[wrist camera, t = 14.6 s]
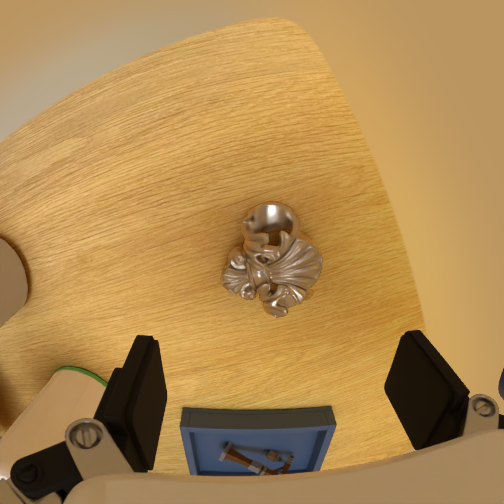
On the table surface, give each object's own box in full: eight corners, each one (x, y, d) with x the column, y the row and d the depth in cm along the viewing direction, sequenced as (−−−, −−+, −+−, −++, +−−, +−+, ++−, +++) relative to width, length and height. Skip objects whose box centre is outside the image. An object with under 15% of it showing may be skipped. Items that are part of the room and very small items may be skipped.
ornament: (204, 217, 21) (198, 231, 18) (302, 191, 21) (314, 201, 17) (236, 316, 24) (236, 343, 20) (323, 293, 24) (336, 318, 20)
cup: (52, 415, 28) (7, 508, 14) (26, 336, 24) (-54, 439, 10) (145, 442, 29) (120, 554, 15) (137, 365, 25) (84, 513, 11)
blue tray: (331, 406, 28) (336, 424, 25) (311, 467, 32) (314, 483, 30) (183, 407, 27) (179, 426, 25) (194, 469, 31) (193, 485, 29)
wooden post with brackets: (297, 464, 29) (286, 492, 25) (234, 436, 31) (217, 461, 27) (303, 456, 29) (292, 485, 25) (239, 427, 31) (221, 453, 27)
